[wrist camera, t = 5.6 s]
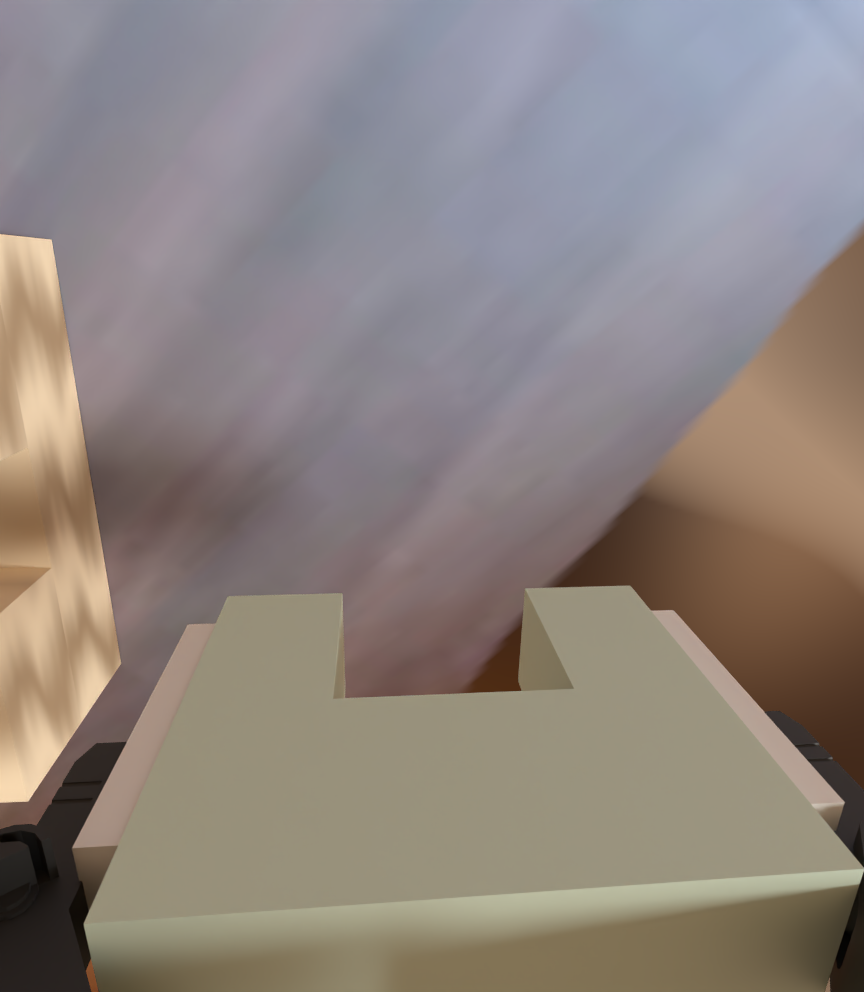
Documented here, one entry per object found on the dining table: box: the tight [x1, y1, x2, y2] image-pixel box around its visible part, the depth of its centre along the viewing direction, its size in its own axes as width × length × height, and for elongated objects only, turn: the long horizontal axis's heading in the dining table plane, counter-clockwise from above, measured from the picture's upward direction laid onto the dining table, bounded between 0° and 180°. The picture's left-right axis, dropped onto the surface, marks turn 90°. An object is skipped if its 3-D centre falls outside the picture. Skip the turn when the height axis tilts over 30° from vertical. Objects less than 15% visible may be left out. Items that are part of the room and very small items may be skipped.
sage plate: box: [84, 586, 864, 992], centre depth 14 cm, size 11×3×9 cm, turn 89°
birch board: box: [0, 234, 121, 802], centre depth 25 cm, size 20×3×9 cm, turn 179°
